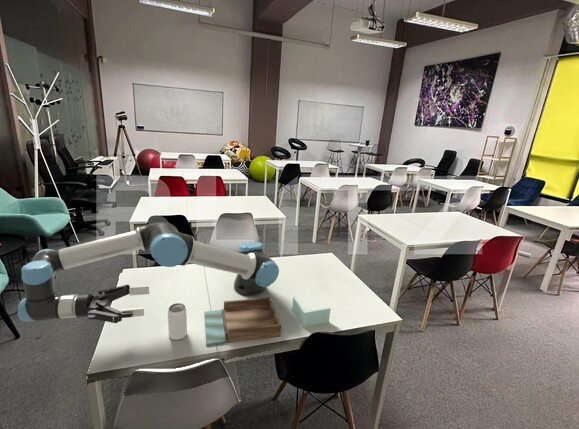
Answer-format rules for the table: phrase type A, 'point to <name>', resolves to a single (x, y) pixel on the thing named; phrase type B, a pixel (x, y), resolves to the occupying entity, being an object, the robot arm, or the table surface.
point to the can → (177, 321)
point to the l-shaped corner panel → (310, 314)
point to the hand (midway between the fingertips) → (146, 300)
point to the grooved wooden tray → (242, 321)
